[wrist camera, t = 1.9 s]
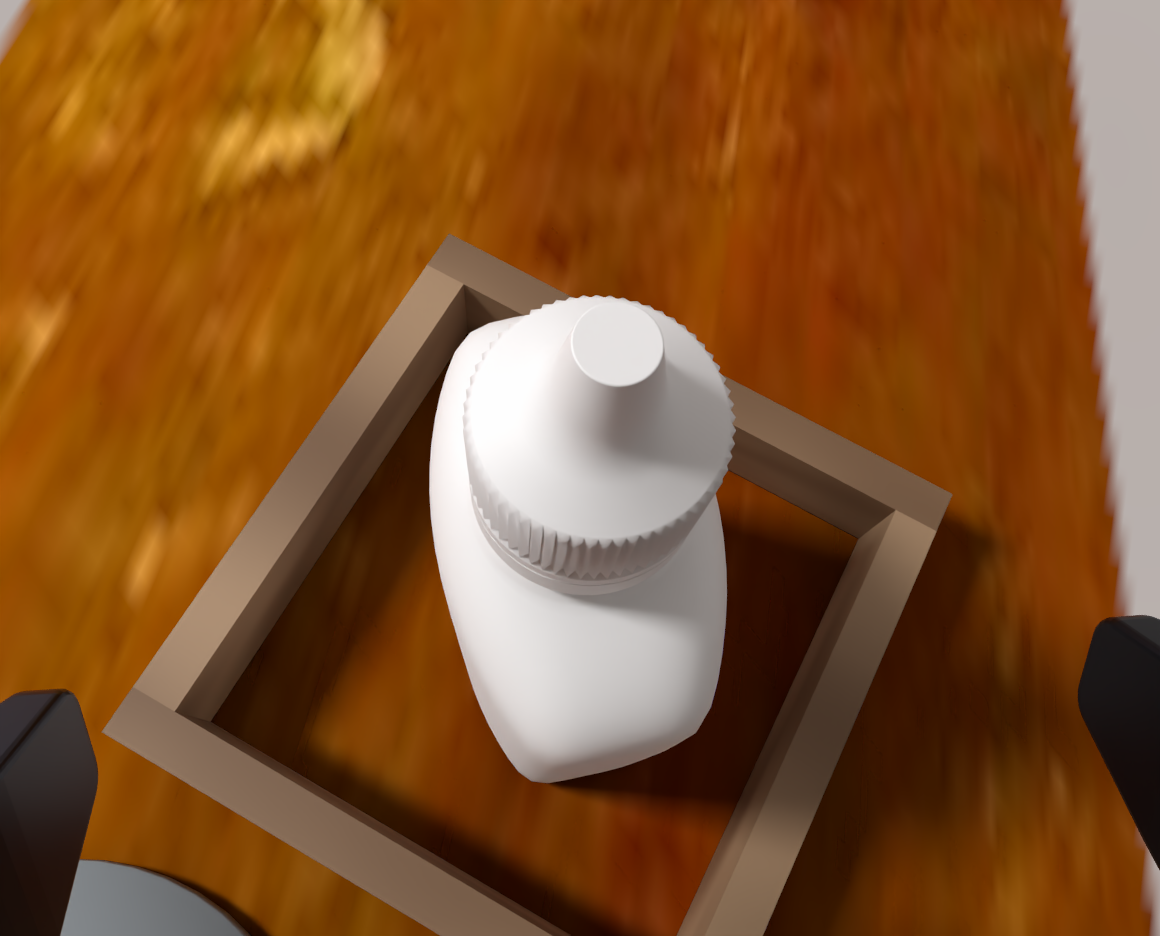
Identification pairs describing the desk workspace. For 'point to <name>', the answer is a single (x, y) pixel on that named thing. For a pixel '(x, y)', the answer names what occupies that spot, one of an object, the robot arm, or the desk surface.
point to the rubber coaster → (140, 905)
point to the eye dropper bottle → (584, 530)
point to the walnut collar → (323, 500)
